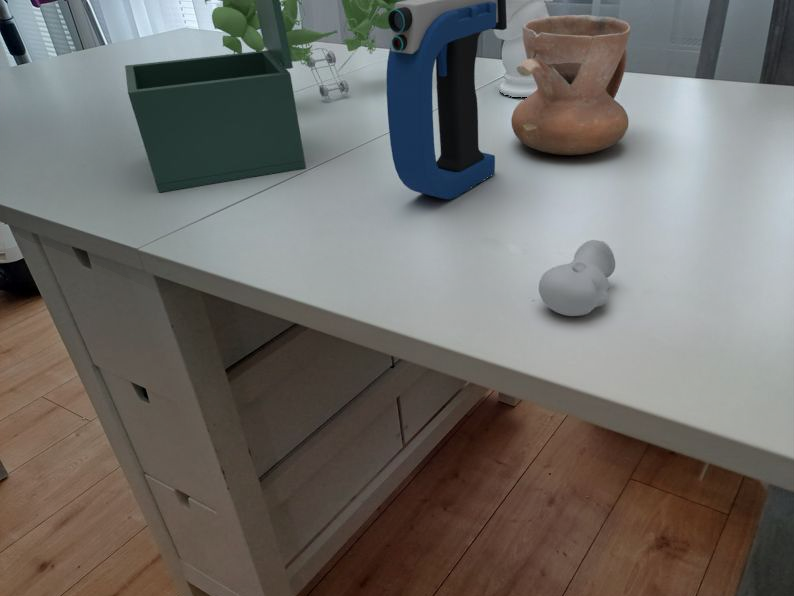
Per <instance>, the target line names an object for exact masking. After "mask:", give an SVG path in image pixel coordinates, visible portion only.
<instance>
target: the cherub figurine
mask: <svg viewBox="0 0 794 596" xmlns="http://www.w3.org/2000/svg"><path fill="white" fill-rule="evenodd" d="M553 1H554V0H506V20H507V28H506V29H505V30H496V29H493V33H494V36H495V37H496V38H497V39H499V40H504V41H503V44H502V48H501V62H502V65H503V68H504V70H505V73H503V79H504V81H505V82H502V83H501V84H500V85H499V86H498V91H499V90H500V92H501V93H500V92H499V93H500V94H502V93H503V94H506V95H509V96H508V97H510V96H513V97H521V98H522V97H529V96H530V95H531V94H533V93H534V92H535V91H536V90H537V84H536V82H535V80H534V77H533V74H531V75H529V76H521V75H520V74H519V73H518V71H517V67H518V65H519V64H521V63H522V62H523V61H525V60H527V56H526V51H525V47H524V41H523V25H524V24H525V23H526V22H529V21H531V20H534V19H538V18H544V17H545V18H546V17H550V16H551V15H549V11H548V9H547V5H546V3H545V2H547V3H550V2H553ZM503 94H502V95H503Z"/></svg>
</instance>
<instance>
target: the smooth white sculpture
mask: <svg viewBox="0 0 794 596" xmlns="http://www.w3.org/2000/svg"><path fill="white" fill-rule="evenodd" d="M615 269H616V259H615V256H614V252H613V250H612V249H611V247H610V245H609V244H607V243H606V242H605V241H603V240H598V239H590V240H587V241H586V242H584V243H583V244H582V245H580V246H579V247H578V249H577V250H576V251H575V253H574V257H573V260H572V261H570V262H569V263H564V264H560V265H556V266H554V267H552V268H550V269H548V270H546V271H545V272H544V273H543V275H541V278H540V280H539V283H538V292H539V296H540V298H541V300H542V301H543V303H544V304H545V306H546V307H548V308H549V309H550V310H552V312H555V313H557V314H559V315H563V316H568V317H580V316H581V317H582V316H585V315H588V314H590V313H591V312H592V311H593V310H594V309H595V308H598V307H600V306H605V305H606V304H607V303H608V300H609V296H608V290H609V289H610V281H609V279H608V278H609V277H610V276H612V275H613V273H614V272H615Z"/></svg>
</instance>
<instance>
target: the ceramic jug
mask: <svg viewBox="0 0 794 596" xmlns="http://www.w3.org/2000/svg"><path fill="white" fill-rule="evenodd" d="M549 16H550V17H546V18H545V17H544V18H538V19H534V20H531V21H529V22H526V23H525V24H524V25H523V41H524V47H525V51H526V56H527V60H525V61H523V62H522V63H521V64H519V65H518V67H517V71H518V73H519V74H520V75H521V76H529V75H531V74H533V77H534V80H535V82H536V84H537V90H536V91H535V92H534V93H533V94H531V95H530V96H529V97H527V98H523V99H522V101H520V102H519V103H518V104H517V106H515V108H514V110H513V112H512V115H511V119H510V120H511V123H510V124H511V128H512V132H513V133H514V135H515V136H516V139H518V141H520V142H522V144H524V145H526V146H527V147H529V148H531V149H534V150H536V151H539V152H542V153H546V154H551V155H559V156H579V155H587V154H592V153H597V152H600V151H603V150H606V149H607V148H608V149H609V148H610V147H612V146H613V145H615V144H617V143H618V142H619V141H621V140H622V138H623V137H624V136H625V134H626V133H627V130H628V128H629V117H628V114H627V111H626V109H625V108H624V107H623V105H621V104H620V103H619V102H618V101H617V100H616V99H615V98H616V96H617V94H618V92H619V89H620V87H621V83H622V81H623V77H624V74H625V71H626V67H627V60H628V59H627V55H628V54H627V49H626V47H627V45H628V44H627V43H628V40H629V37H630V33H631V26H630V24H629V23H628V22H627V21H626V20H625V21H624V20H623V19H618V18H617V17H612V16H606V15H601V16H600V15H599V16H597V15H596V16H595V15H591V14H578V15H575V14H569V15H568V14H567V15H549Z"/></svg>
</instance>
